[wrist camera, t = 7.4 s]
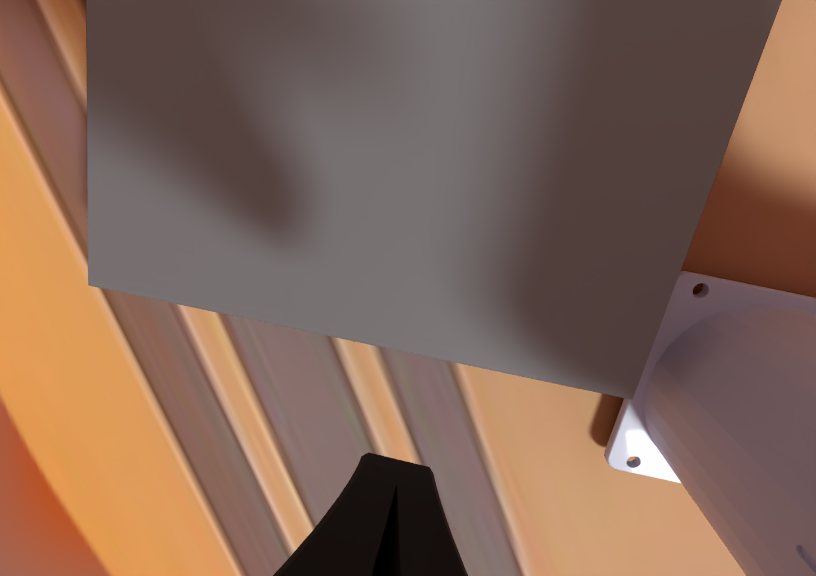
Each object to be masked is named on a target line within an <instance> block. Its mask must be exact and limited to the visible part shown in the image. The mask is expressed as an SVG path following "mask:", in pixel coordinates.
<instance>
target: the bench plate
mask: <svg viewBox="0 0 816 576" xmlns="http://www.w3.org/2000/svg"><path fill="white" fill-rule="evenodd" d="M781 1H782V0H86V42H87V174H88V285H89V286H94V287H99V288H104V289H108V290H113V291H118V292H123V293H127V294H132V295H137V296H142V297H146V298H151V299H156V300H161V301H165V302H170V303H175V304H180V305H184V306H189V307H194V308H199V309H203V310H208V311H213V312H218V313H222V314H227V315H232V316H237V317H241V318H246V319H251V320H256V321H260V322H265V323H270V324H275V325H279V326H284V327H289V328H294V329H298V330H303V331H308V332H313V333H317V334H322V335H327V336H332V337H336V338H341V339H346V340H351V341H356V342H360V343H365V344H370V345H375V346H379V347H384V348H389V349H394V350H398V351H403V352H408V353H413V354H417V355H422V356H427V357H432V358H436V359H441V360H446V361H451V362H455V363H460V364H465V365H470V366H474V367H479V368H484V369H489V370H493V371H498V372H503V373H508V374H512V375H517V376H522V377H527V378H531V379H536V380H541V381H546V382H550V383H555V384H560V385H565V386H569V387H574V388H579V389H584V390H588V391H593V392H598V393H603V394H607V395H612V396H617V397H622V398H626V399H631V400H633V397H634V394H635V392H636V389H637V386H638V384H639V381H640V378H641V376H642V373H643V370H644V368H645V365H646V362H647V360H648V357H649V354H650V351H651V349H652V346H653V343H654V341H655V338H656V335H657V333H658V330H659V327H660V325H661V322H662V319H663V317H664V314H665V311H666V309H667V306H668V303H669V301H670V298H671V295H672V293H673V290H674V287H675V285H676V282H677V279H678V277H679V274H680V271H681V269H682V266H683V263H684V261H685V258H686V255H687V253H688V250H689V247H690V244H691V242H692V239H693V236H694V234H695V231H696V228H697V226H698V223H699V220H700V218H701V215H702V212H703V210H704V207H705V204H706V202H707V199H708V196H709V194H710V191H711V188H712V186H713V183H714V180H715V178H716V175H717V172H718V170H719V167H720V164H721V162H722V159H723V156H724V154H725V151H726V148H727V146H728V143H729V140H730V137H731V135H732V132H733V129H734V127H735V124H736V121H737V119H738V116H739V113H740V111H741V108H742V105H743V103H744V100H745V97H746V95H747V92H748V89H749V87H750V84H751V81H752V79H753V76H754V73H755V71H756V68H757V65H758V63H759V60H760V57H761V55H762V52H763V49H764V47H765V44H766V41H767V39H768V36H769V33H770V30H771V28H772V25H773V22H774V20H775V17H776V14H777V12H778V9H779V6H780V4H781Z"/></svg>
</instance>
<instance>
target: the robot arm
mask: <svg viewBox="0 0 816 576" xmlns="http://www.w3.org/2000/svg"><path fill="white" fill-rule="evenodd" d="M699 283H702V284H703V289H702V290H701V292H700V293H698V294H695V295H693V288H694V287H695V285H697V284H699ZM604 456H605V459H606V461H607V463H608V464H609V465H610V466H611V467H612V468H614V469H617V470H622V471H626V472H631V473H636V474H640V475H645V476H650V477H655V478H659V479H664V480H669V481H673V482H678V483H682V484H683V486H684V487H685V489H686V490H687V491H688V493H689V494H690V496H691V497H692V499H693V500H694V501H695V503H696V504H697V506H698V507H699V509H700V510H701V511H702V513H703V514H704V516H705V517H706V519H707V520H708V521H709V523H710V524H711V526H712V527H713V529H714V530H715V531H716V533H717V534H718V536H719V537H720V539H721V540H722V541H723V543H724V544H725V546H726V547H727V549H728V550H729V551H730V553H731V554H732V556H733V557H734V559H735V560H736V561H737V563H738V564H739V566H740V567H741V569H742V570H743V571H744V573H745V574H746V576H816V297H811V296H806V295H801V294H796V293H791V292H786V291H781V290H776V289H771V288H767V287H762V286H757V285H752V284H747V283H742V282H737V281H732V280H727V279H722V278H718V277H713V276H708V275H703V274H698V273H693V272H688V271H680V274H679V277H678V279H677V282H676V285H675V287H674V290H673V293H672V295H671V298H670V301H669V303H668V306H667V309H666V311H665V314H664V317H663V319H662V322H661V325H660V327H659V330H658V333H657V335H656V338H655V341H654V343H653V346H652V349H651V351H650V354H649V357H648V360H647V362H646V365H645V368H644V370H643V373H642V376H641V378H640V381H639V384H638V386H637V389H636V392H635V394H634V397H633V400H631V399H626V398H624V400H623V403H622V406H621V409H620V411H619V414H618V417H617V419H616V422H615V425H614V428H613V430H612V433H611V436H610V438H609V441H608V444H607V447H606V449H605V454H604ZM632 456H637V457H636V459H635V460H633V461H627V459H628V458H629V457H632ZM273 576H468V574H467V572H466V570H465V567H464V565H463V562H462V560H461V557H460V554H459V552H458V549H457V547H456V544H455V542H454V539H453V537H452V534H451V531H450V528H449V525H448V522H447V519H446V516H445V513H444V510H443V507H442V504H441V501H440V498H439V494H438V491H437V487H436V483H435V479H434V474H433V472H432V471H431V469H430V467H427V466H422V465H418V464H414V463H410V462H406V461H401V460H397V459H393V458H389V457H385V456H381V455H376V454H372V453H367V454H365V455H363V456H362V457H361V459H360V462H359V464H358V466H357V468H356V470H355V472H354V474H353V475H352V477H351V479H350V480H349V482H348V484H347V485H346V487H345V488H344V490H343V491H342V493H341V494H340V496H339V497H338V498H337V500H336V501H335V502H334V504H333V505H332V506H331V508H330V509H329V510H328V512H327V513H326V514H325V516H324V517H323V518H322V520H321V521H320V522H319V524H318V525H317V526H316V527H315V529H314V530H313V531H312V532H311V533H310V535H309V536H308V537H307V538H306V539H305V540H304V541H303V543H302V544H301V545H300V546H299V547H298V548H297V550H296V551H295V552H294V553H293V554H292V555H291V556H290V558H289V559H288V560H287V561H286V562H285V563H284V564H283V565H282V567H281V568H280V569H279V570H278V571H277V572H276V573H275V574H274V575H273Z"/></svg>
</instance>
